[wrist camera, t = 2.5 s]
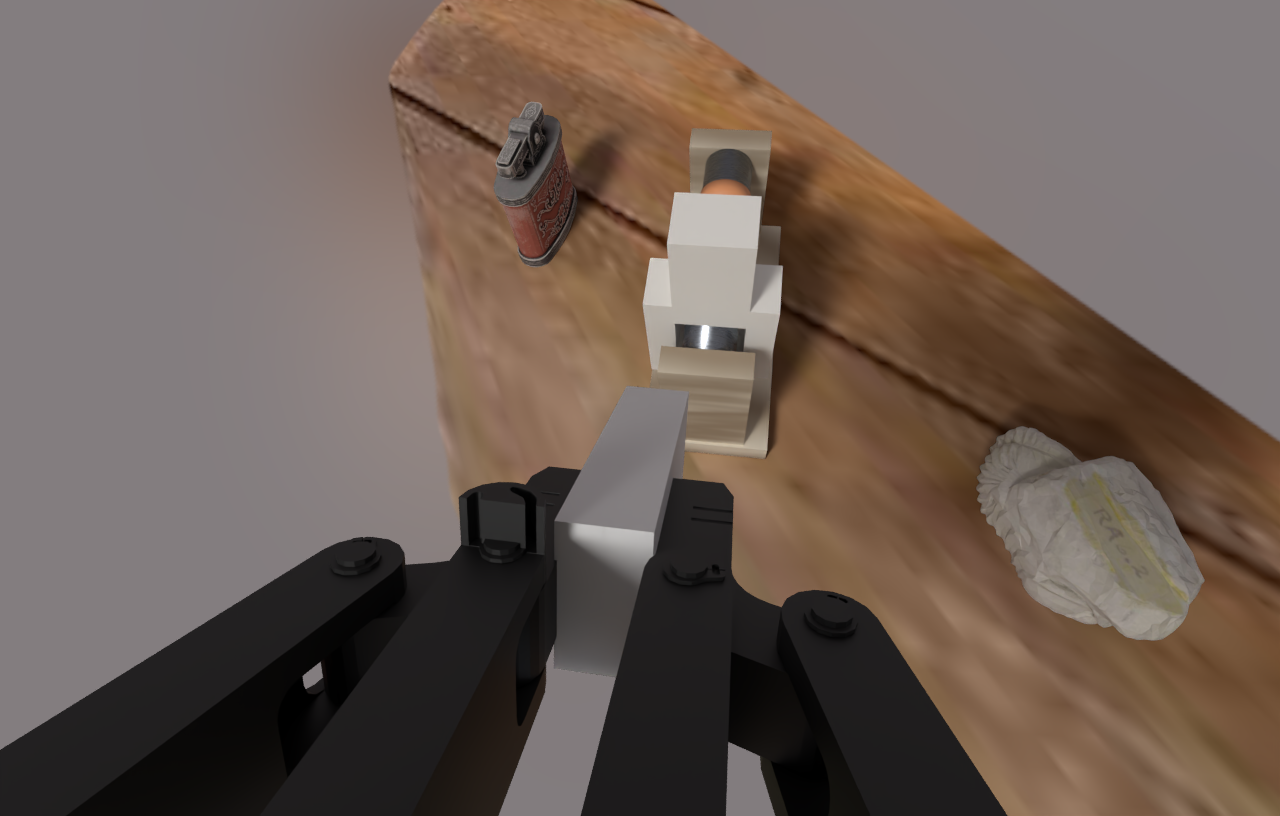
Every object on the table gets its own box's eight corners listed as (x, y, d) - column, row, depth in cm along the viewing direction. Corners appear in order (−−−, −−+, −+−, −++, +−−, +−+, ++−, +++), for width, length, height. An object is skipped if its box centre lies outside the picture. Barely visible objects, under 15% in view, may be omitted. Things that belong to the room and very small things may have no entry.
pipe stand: (765, 458, 44) (783, 385, 34) (644, 447, 45) (628, 372, 35) (778, 239, 51) (796, 128, 41) (674, 233, 52) (669, 124, 42)
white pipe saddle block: (767, 378, 40) (792, 251, 29) (651, 369, 41) (634, 241, 30) (770, 335, 41) (795, 197, 30) (657, 327, 42) (642, 191, 31)
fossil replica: (1012, 423, 43) (914, 532, 42) (1058, 361, 36) (941, 491, 34) (1205, 551, 38) (1101, 681, 37) (1305, 510, 31) (1180, 671, 29)
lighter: (547, 185, 55) (518, 81, 46) (585, 193, 55) (563, 88, 46) (511, 262, 52) (471, 166, 43) (551, 271, 52) (519, 175, 43)
